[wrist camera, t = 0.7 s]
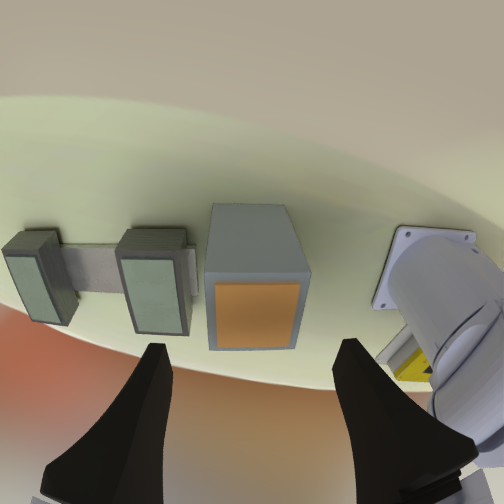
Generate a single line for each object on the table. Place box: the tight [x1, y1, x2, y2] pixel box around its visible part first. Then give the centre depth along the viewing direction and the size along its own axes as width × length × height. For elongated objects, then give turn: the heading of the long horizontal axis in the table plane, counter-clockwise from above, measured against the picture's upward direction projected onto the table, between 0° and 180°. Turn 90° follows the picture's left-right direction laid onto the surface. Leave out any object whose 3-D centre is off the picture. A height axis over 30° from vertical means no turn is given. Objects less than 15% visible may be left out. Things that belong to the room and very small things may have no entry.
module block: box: [204, 203, 311, 351], centre depth 17 cm, size 4×5×8 cm
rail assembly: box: [1, 229, 198, 336], centre depth 19 cm, size 15×7×4 cm, turn 87°
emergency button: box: [375, 324, 433, 382], centre depth 27 cm, size 9×4×15 cm
